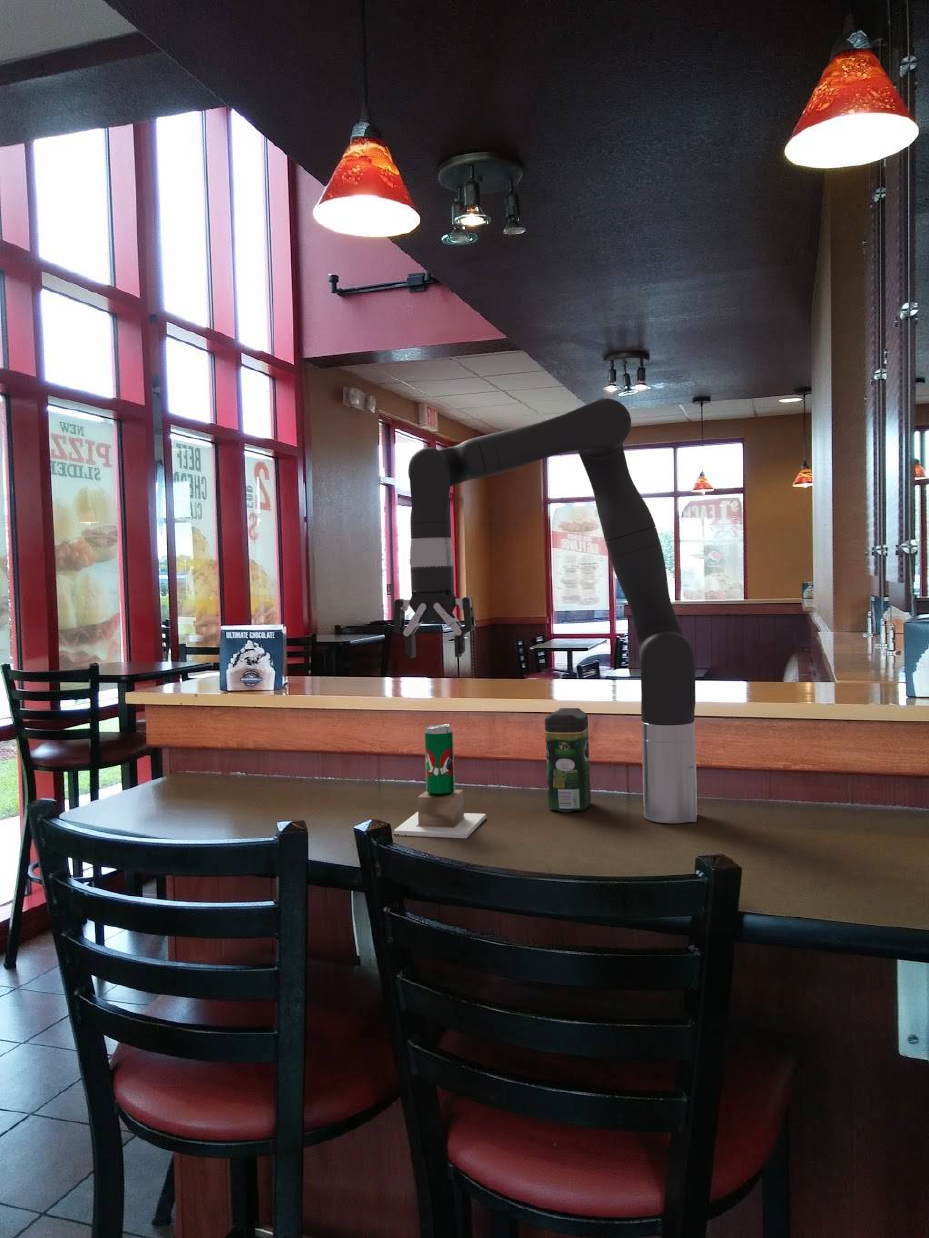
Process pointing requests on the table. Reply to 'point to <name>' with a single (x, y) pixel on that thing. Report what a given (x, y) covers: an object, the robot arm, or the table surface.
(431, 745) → the soda can
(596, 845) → the table surface
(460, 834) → the board
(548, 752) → the coffee jar
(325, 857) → the table surface
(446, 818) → the walnut block
